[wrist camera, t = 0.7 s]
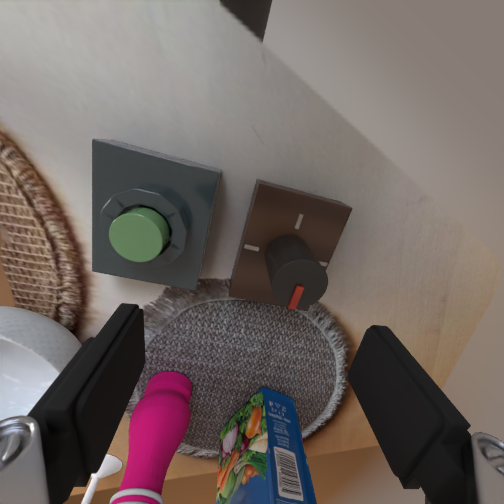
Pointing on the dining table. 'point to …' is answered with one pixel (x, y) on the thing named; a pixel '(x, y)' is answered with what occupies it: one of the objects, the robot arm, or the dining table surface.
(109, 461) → the champagne flute
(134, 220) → the green round button
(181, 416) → the pepper mill
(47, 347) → the cereal bowl
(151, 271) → the grey button housing
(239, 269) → the lock base
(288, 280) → the dial
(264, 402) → the blue food package
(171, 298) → the dining table surface
